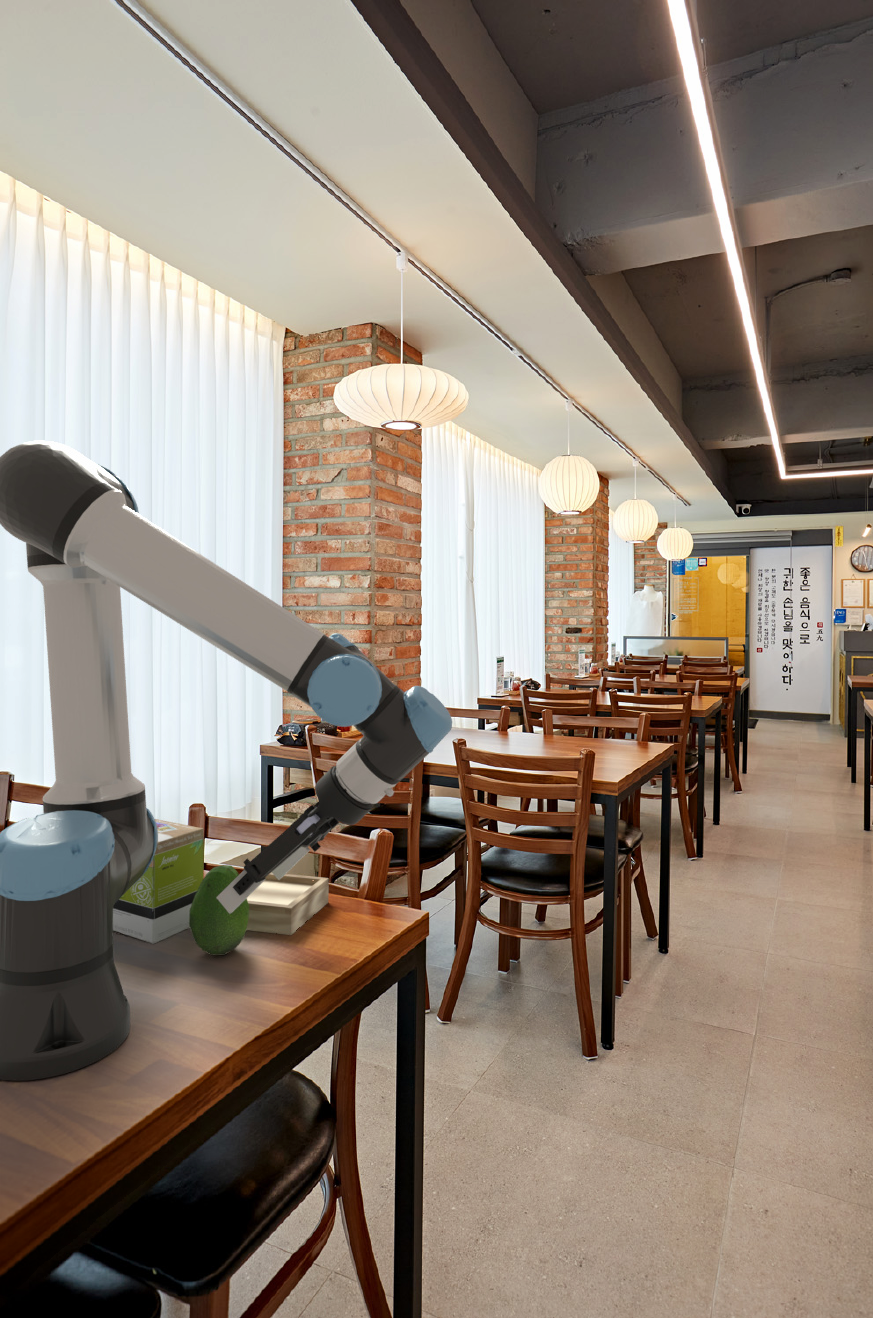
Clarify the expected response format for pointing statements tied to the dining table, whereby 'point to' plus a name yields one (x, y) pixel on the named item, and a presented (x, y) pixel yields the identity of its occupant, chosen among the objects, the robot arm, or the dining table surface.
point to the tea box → (164, 886)
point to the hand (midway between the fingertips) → (250, 887)
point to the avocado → (217, 914)
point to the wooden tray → (286, 903)
